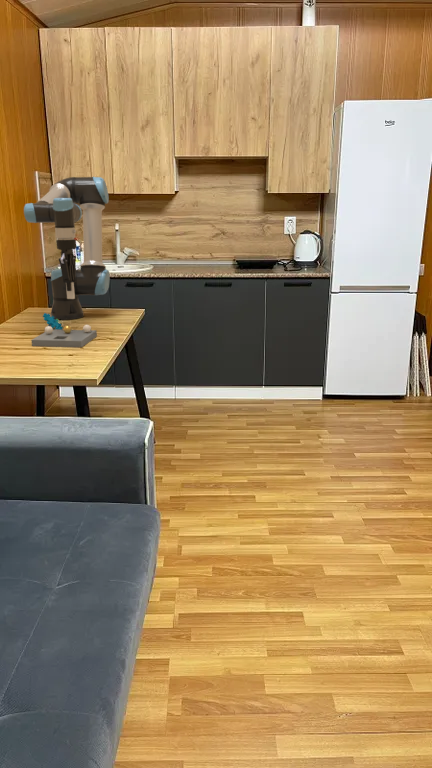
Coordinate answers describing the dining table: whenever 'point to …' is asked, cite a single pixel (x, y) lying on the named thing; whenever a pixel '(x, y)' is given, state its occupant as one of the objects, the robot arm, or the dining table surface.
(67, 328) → the ball
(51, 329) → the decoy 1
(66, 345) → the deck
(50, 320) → the gear
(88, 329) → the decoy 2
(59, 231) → the robot arm
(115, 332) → the dining table surface
